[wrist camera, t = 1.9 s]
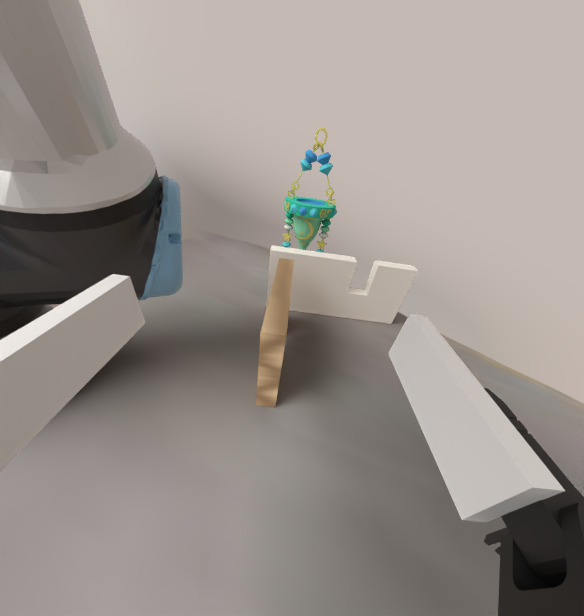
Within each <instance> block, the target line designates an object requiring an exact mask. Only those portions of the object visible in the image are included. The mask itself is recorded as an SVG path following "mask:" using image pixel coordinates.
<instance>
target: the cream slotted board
mask: <svg viewBox="0 0 584 616" xmlns="http://www.w3.org/2000/svg"><path fill="white" fill-rule="evenodd" d="M279 258H284V259H291V260H294V266H293V276H292V286H291V296H290V306H289V310H290V311H297V312H305V313H312V314H320V315H327V316H335V317H342V318H350V319H357V320H365V321H372V322H380V323H387V324H392V322H393V320H394V318H395V316H396V314H397V312H398V310H399V308H400V306H401V304H402V302H403V300H404V298H405V296H406V294H407V292H408V291H409V288H410V286H411V284H412V283H413V281H414V279H415V277H416V275H417V273H418V271H417V269H416V268H415V267H413V266H412V265H405V264H398V263H391V262H384V261H377V260H375V261H374V264H373V267H372V269H371V272H370V275H369V277H368V281H367V283H366V286H365V288H364V289H358V288H350V287H349V286H350V283H351V280H352V277H353V274H354V270H355V268H356V265H357V261H356V259H355V257H349V256H343V255H336V254H329V253H322V252H314V251H308V250H301V249H294V248H287V247H279V246H272V247H271V250H270V261H269V275H268V288H267V302H266V307H267V304H268V300H269V296H270V293H271V289H272V285H273V281H274V277H275V273H276V269H277V265H278V261H279Z"/></svg>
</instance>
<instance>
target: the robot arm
mask: <svg viewBox="0 0 584 616" xmlns="http://www.w3.org/2000/svg"><path fill="white" fill-rule="evenodd" d="M182 282H183V269H182V242H181V206H180V186H179V184H178V183H177V182H176V181H175V180H172V179H169V178H167V177H166V176H162V177H158V174H157V170H156V167H155V162H154V160H153V157H152V155H151V153H150V151H149V150H148V149H147V147H146V146H145V145H144V144H143V143H142V142H141V141H139V140H138V139H137V138H135V137H134V136H133V135H132V134H130V133H129V132H128V131H126V130H125V129H124V128H123V127H122V126H121V125H120V123H119V120H118V118H117V114H116V112H115V108H114V105H113V102H112V99H111V96H110V93H109V90H108V87H107V84H106V81H105V78H104V75H103V72H102V69H101V66H100V63H99V60H98V57H97V54H96V51H95V48H94V45H93V42H92V38H91V36H90V33H89V29H88V26H87V24H86V20H85V17H84V15H83V12H82V8H81V5H80V2H79V0H0V472H1V471H2V470H3V468H4V467H5V466H6V465H7V464H8V463H9V462H10V461H11V460H12V459H13V458H14V457H15V456H16V455H17V454H18V453H19V452H20V451H21V450H22V449H23V448H24V447H25V446H26V445H27V444H28V443H29V442H30V441H31V440H32V439H33V438H34V437H35V436H36V435H37V434H38V433H39V432H40V431H41V430H42V429H43V428H44V427H45V426H46V425H47V423H48V422H49V421H50V420H51V419H52V418H53V417H54V416H55V415H56V414H57V413H58V412H59V411H60V410H61V409H62V408H63V407H64V406H65V405H66V404H67V403H68V402H69V401H70V400H71V399H72V398H73V397H74V396H75V395H76V394H77V393H78V392H79V391H80V390H81V389H82V388H83V387H84V386H85V385H86V384H87V383H88V382H89V381H90V380H91V378H92V377H93V376H94V375H95V374H96V373H97V372H98V371H99V370H100V369H101V368H102V367H103V366H104V365H105V364H106V363H107V362H108V361H109V360H110V359H111V358H112V357H113V356H114V355H115V354H116V353H117V352H118V351H119V350H120V349H121V348H122V347H123V346H124V345H125V344H126V343H127V342H128V341H129V340H130V339H131V338H132V337H133V336H134V334H135V333H136V332H137V331H138V330H139V329H140V328H141V327H142V326H143V325H144V324H145V321H144V318H143V315H142V312H141V308H140V305H139V302H138V299H139V300H145V299H147V298H149V297H158V296H167V295H172V294H174V293H176V292H177V291H178V290H179V289H180V288H181V286H182ZM50 304H61V305H59V306H58V307H56V308H53V307H52V306H50ZM388 354H389V356H390V359H391V361H392V363H393V366H394V368H395V370H396V372H397V375H398V377H399V379H400V381H401V384H402V386H403V388H404V390H405V393H406V395H407V397H408V400H409V402H410V404H411V406H412V409H413V411H414V413H415V415H416V418H417V420H418V422H419V424H420V427H421V429H422V431H423V433H424V436H425V438H426V440H427V443H428V445H429V447H430V449H431V452H432V454H433V456H434V458H435V461H436V463H437V465H438V467H439V470H440V472H441V474H442V477H443V479H444V481H445V483H446V486H447V488H448V490H449V492H450V495H451V497H452V499H453V501H454V504H455V506H456V508H457V510H458V513H459V515H460V517H461V520H466V521H476V522H489V521H492V520H494V519H497V518H499V517H502V519H503V521H504V522H505V524H506V526H507V528H504V529H501V530H498V531H495V532H492V533H490V534H488V535H486V538H485V540H484V542H485V543H486V544H487V545H491V544H495V543H498V542H501V546H500V547H498V548H497V549H495V551H496V552H497V553H498V554H499V555H500V580H499V606H498V616H584V497H583V496H582V495H581V494H580V493H579V491H578V490H577V489H576V488H575V487H574V486H573V485H572V483H571V482H570V481H569V480H568V479H567V477H566V476H565V475H564V474H563V473H562V471H561V470H560V469H559V468H558V467H557V465H556V464H555V463H554V462H553V461H552V459H551V458H550V457H549V456H548V455H547V453H546V452H545V451H544V450H543V449H542V447H541V446H540V445H539V444H538V443H537V441H536V440H535V439H534V438H533V437H532V435H531V434H528V433H527V429H526V428H525V427H524V426H523V425H522V423H521V422H520V421H517V419H516V418H517V417H516V416H515V415H514V414H513V413H512V411H511V410H510V409H509V408H508V407H507V405H506V404H505V403H504V402H503V401H502V400H501V399H499V398H498V397H497V396H496V395H495V394H494V393H492V392H491V391H490V390H489V389H487V388H483V387H482V385H481V384H480V383H479V382H478V380H477V379H476V378H475V377H474V375H473V374H472V373H471V372H470V370H469V369H468V368H467V367H466V365H465V364H464V363H463V362H462V360H461V359H460V358H459V357H458V355H457V354H456V353H455V351H454V350H453V349H452V348H451V346H450V345H449V344H448V343H447V341H446V340H445V339H444V338H443V336H442V335H441V334H440V333H439V331H438V330H437V329H436V328H435V326H434V325H433V324H432V323H431V321H430V320H429V319H428V318H427V317H426V315H420V314H413V313H410V314H409V316H408V318H407V320H406V322H405V323H404V325H403V327H402V329H401V331H400V333H399V334H398V336H397V338H396V340H395V342H394V344H393V346H392V347H391V349H390V351H389V353H388Z"/></svg>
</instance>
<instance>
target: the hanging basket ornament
mask: <svg viewBox="0 0 584 616" xmlns="http://www.w3.org/2000/svg"><path fill="white" fill-rule="evenodd" d="M320 130H323V131H324V132H325V140H324V142H323V143H319V142H318V141H317V134H318V132H319V131H320ZM326 139H327V132H326V130H325V128H323V127H321V128H320V129H319V130H318V131H317V133H316V136H315V141H316V143H315V144H314V148H313V150H314V151H315V150H317V149H318V148H319V147H321V150H322V155H320V156H319V157H318V160H317V156H316V155H315V154H314V151H313V152H312V151H311V150H307V151H306V159H303V160H301V166H302V170H303V171H306V170H311V167H312V165H311V163H312V162H315V161H318V162H319V163H321V164H322V166H321V167H320V171H321V172H322V173H324V174H326V175H327V179H328V174H329V172H330V170H331V168H332V167H333V165H332V164H331V163H328V162H329V159H330V157H331V155H330V154H329V153H328V152H327V153H324V154H323V152H324V150H323V145H324V144H325V142H326ZM316 145H317V147H316V148H315V146H316ZM303 171H302V172H303ZM302 172H301V174H302ZM301 174H300V175H301ZM299 178H300V176H299ZM299 178H298V179H299ZM296 182H297V185H298V187H297V189H296V188H295V185H294V186H293V184H294V183H296ZM296 182H294V183H292V191H288V197H286V198H285V201H284V203H285V207H284V209H285V211H287V213H286V216H287V217H288V218H286V220H285V222H286V223H287V225H285V226H284V228H285V229H286V230H287V231H290V230H291V229H293V227H292V225H291V224H292V223H293V220H292V219H291V218H292V217H294V231H295V234H296V236H295V237H296V238H297V240H298V243H299V246H300V249H301V250H306V248H307V246H308V245H309V243H310V242H311V241H312V240H313V239H314V237H315V236H316V234H317V232H318V230H319V227H320V224H321V222H322V224H323V225H324V226H322V227H321V230H322V232H321V233H320V234H319V235H320V237H321V238H322V241H321V242H318V241H317V243H318V244H319V246H318V248H320V247H321V248H322V249H324V245H326V244H327V243H324V242H323V239H325V238H326V237H328V234H327V233H326V232H327V231H329V227H327V226H328V225H330V224H331V223H330V221H329V219H330V218H332V217H333V216H334V215H335V214H336V213H337V211H336V208H335V207H336V206H335V205H334V203H335V199H333V200H334V203H333V204H332V203H329V201H332V200H331V198H332V195H333V193H334V192H333V189H332V188H330V185H329V188H328V190H329V189H331V190H332V193H331V192H330V198H329V199H328V202H326V201H323V200H318V199H313V198H306V197H294V196H295V193H294V190H295V189H296V190H298V188H299V184H298V180H297V181H296ZM328 183H329V179H328ZM328 190H327V191H328ZM327 191H326V194H327V196H328V195H329V194H328V193H327ZM289 192H291V193H292V194H294V195H293V196H292V197H290V195H289ZM322 219H325V220H323V221H322ZM283 235H284V236H285V238H284V240H286V239H287V240H288V241H290V237H292V236H291V235H289V232H287V234H283ZM282 245H283V246H284V247H287V248H288V247H289V246H290V245H291V244H290V243H289V242H287V241H286V242H283V244H282ZM316 252H322V253H324V251H323V250H321V249H318V250H317V251H316Z"/></svg>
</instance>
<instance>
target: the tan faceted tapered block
mask: <svg viewBox="0 0 584 616" xmlns="http://www.w3.org/2000/svg"><path fill="white" fill-rule="evenodd" d="M293 266H294V260H291V259H284V258H279V261H278V265H277V269H276V273H275V277H274V281H273V285H272V289H271V293H270V296H269V300H268V304H267V308H266V312H265V316H264V320H263V324H262V328H261V332H260V348H259V365H258V381H257V397H256V405H260V406H268V407H276V400H277V394H278V387H279V381H280V375H281V368H282V362H283V355H284V349H285V342H286V336H287V326H288V316H289V306H290V296H291V286H292V276H293Z"/></svg>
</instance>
